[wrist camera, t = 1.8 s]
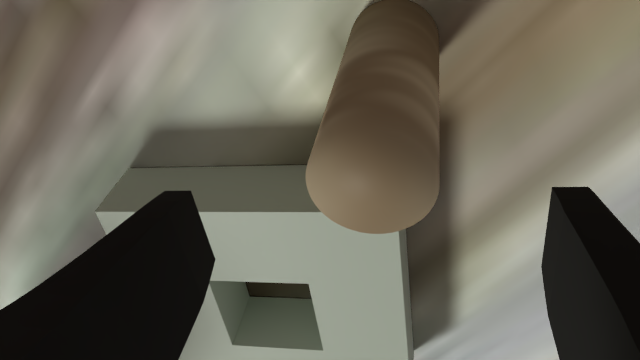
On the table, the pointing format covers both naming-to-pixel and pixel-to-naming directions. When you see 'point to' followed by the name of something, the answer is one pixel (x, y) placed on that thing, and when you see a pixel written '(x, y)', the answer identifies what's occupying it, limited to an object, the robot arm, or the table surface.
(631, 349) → the robot arm
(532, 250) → the table surface
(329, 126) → the peg
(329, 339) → the wick holder
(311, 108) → the table surface
